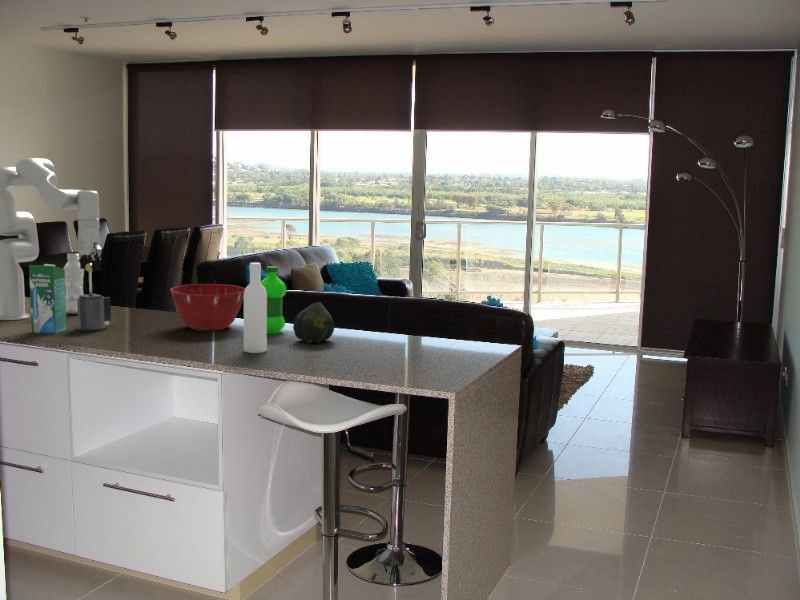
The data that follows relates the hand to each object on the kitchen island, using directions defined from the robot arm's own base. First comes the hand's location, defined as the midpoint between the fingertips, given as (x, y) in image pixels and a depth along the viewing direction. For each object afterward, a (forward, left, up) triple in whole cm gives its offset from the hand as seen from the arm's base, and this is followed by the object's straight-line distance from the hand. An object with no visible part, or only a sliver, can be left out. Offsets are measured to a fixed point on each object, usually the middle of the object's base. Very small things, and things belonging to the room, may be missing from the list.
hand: (90, 269), depth 326 cm
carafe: (0, +1, -22) cm, 23 cm away
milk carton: (-5, -14, -23) cm, 27 cm away
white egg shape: (-8, +7, -23) cm, 25 cm away
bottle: (+71, +25, -23) cm, 78 cm away
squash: (+70, +51, -23) cm, 89 cm away
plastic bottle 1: (-37, +10, -23) cm, 45 cm away
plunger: (0, 0, -14) cm, 14 cm away
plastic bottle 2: (+46, +50, -23) cm, 72 cm away
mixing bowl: (+24, +36, -23) cm, 49 cm away
